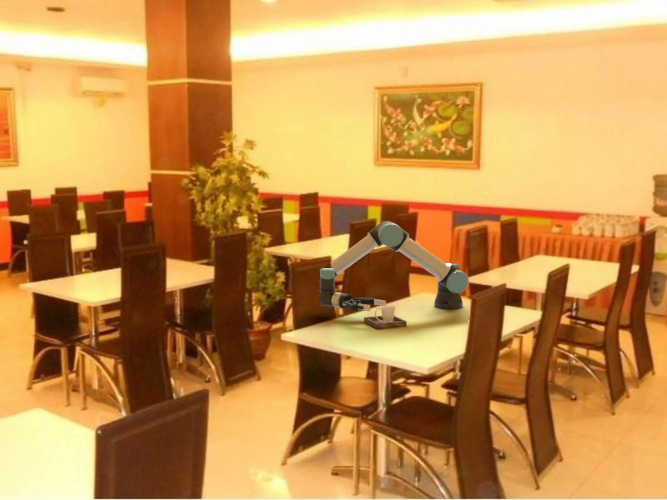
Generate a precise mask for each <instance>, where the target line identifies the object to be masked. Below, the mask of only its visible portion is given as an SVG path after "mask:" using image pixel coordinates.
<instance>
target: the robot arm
mask: <svg viewBox="0 0 667 500" xmlns="http://www.w3.org/2000/svg"><path fill="white" fill-rule="evenodd" d="M383 245H384V246H386V247H388V248H389V249H390V250H391V251H393V252H400V253H401V254H402V255H404V256H405V257H407V258H408V259H410V260H411V261H412V262H414V263H415V264H417V265H418V266H419V267H421V268H423V269H424V270H425V271H427V272H428V273H429V274H431V275H433V277H435V278H436V282H437V293H436V296H435V299H434V302H433V303H434V305H433V306H434V307H435V308H437V309H444V308H445V310H450V309H451V310H452V309H453V308H455V309H460V307H461V308H463V305H464V303H463V300H462V295H461V293H462V292H464V291H465V290H466V289H467V287H468V285H469V282H470V281H469V276H468V275H467V273H466V272H464V271H462V270H461V266H460V264H459V263H451V262H445V261H444V260H441V259H440V258H439V257H437V256H436V255H434V254H433V253H432V252H430V251H429V250H427V249H426V248H425V247H424V246H422V245H421V244H419V243H418V242H416V241H415V240H414V239H412V238H410V235H409V232H407V231H406V230H404V229H403V228H402V227H401V226H399V225H398V224H396V223H394V222H392V221H389V220H385V221H381V222H380V223H378V224H377V225H376V226H374V228H372V229H371V230H370V231H368V232H367V235H366V236H365V237H363V238H362V239H361V240H359V241H358V242H357V243H355V244H354V245H352V246H351V247H350V248H348V249H347V250H346V251H344V252H343V253H342V254H341V255H339V256H338V257H336V258H335V259H334V260H332V261H331V262H330V263H331V267H332V268H323V267H321V268H322V269H321V268H320V269H319V270H320V280H319V288H320V289H319V291H320V302H321V304H322V305H321V306H324V307H331V308H337V309H343V310H351V311H355V312H358V311H365V312H366V311H367V312H370V311H371V305H374V306H380V307H381V306H384V305H387V300H384V299H377V298H376V297H353V295H352V294H350V293H344V292H336V291H335V290H336V288H335V285H336V284H335V283H336V280H335V279H336V277H337V276H338V275H340V274H341V273H343V271H345V270H347V269H348V268H350V267H351V266H352V265H353V264H355V263H357V262H358V261H359V260H360V259H361V258H363V257H365V255H367V254H369V253H370V252H371V251H373V250H374V249H376V248H380V247H381V246H383ZM453 310H454V309H453Z"/></svg>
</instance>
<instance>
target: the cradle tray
mask: <svg viewBox="0 0 667 500" xmlns="http://www.w3.org/2000/svg"><path fill="white" fill-rule="evenodd" d="M376 317H377V318H378V319H379V320H380V321H382V322H385V321H384V320H383V317H382V315H376ZM376 317H375V315H374V316H366V317H365V316H364V317H363V323H364V324H366V325H369V326H370V327H372V328H374V329H375V330H384V329H393V328H402V327H407V320H405V319H402V318H401V317H398V316H397V315H394V318H393V321H391V322H387V323H382V322H380V321H379V320H378V319H376Z"/></svg>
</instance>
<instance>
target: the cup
mask: <svg viewBox="0 0 667 500" xmlns="http://www.w3.org/2000/svg"><path fill="white" fill-rule="evenodd" d="M378 310H380V311H381V316H382V317H383V320H384V321H385V322H382V321H380V320H379V319H378V318H377V317H376V316H377V311H378ZM395 312H396V306H395V305H390V304H386V305H384V306H380V307H378V308H376V309H375V312H374V316H375V317H376V319H378V320H379V321H380V322H382V323H387V322H391V321H393V318H394V316H395Z"/></svg>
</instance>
